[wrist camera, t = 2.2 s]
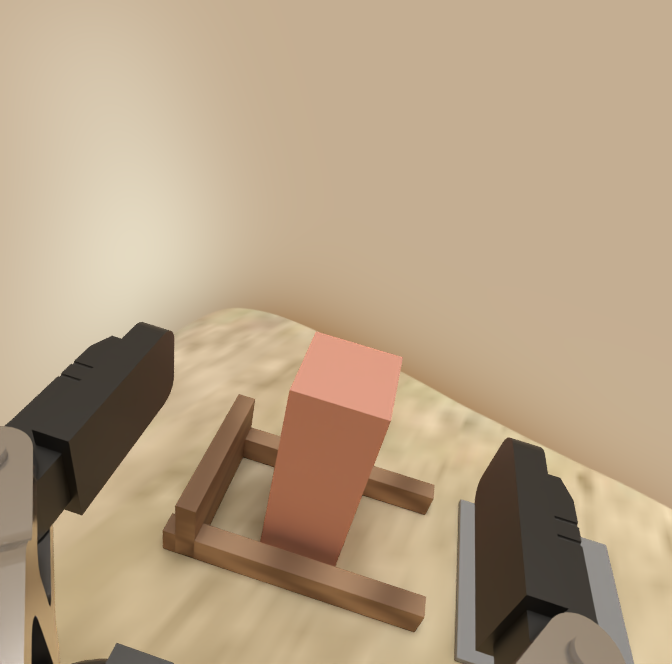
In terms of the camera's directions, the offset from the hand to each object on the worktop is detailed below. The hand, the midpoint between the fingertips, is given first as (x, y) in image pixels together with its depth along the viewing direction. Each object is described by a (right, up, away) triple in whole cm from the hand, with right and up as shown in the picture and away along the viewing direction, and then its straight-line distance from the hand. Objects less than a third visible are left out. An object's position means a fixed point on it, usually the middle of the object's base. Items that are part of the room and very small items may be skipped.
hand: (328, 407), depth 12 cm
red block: (-2, -11, +22) cm, 25 cm away
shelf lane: (-2, -11, +22) cm, 25 cm away
